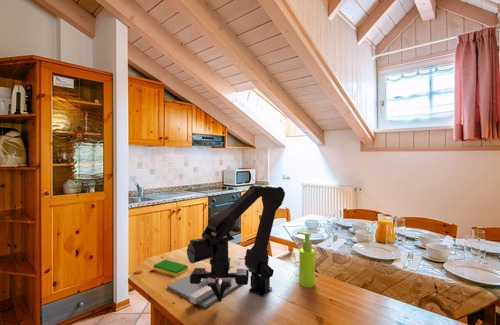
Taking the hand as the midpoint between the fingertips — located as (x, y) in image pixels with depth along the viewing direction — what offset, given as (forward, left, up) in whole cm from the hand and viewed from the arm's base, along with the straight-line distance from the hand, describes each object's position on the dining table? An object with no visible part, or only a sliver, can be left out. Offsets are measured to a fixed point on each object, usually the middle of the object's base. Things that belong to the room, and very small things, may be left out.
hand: (220, 301), depth 86 cm
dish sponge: (+36, -7, -3) cm, 37 cm away
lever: (+7, -4, -1) cm, 9 cm away
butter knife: (+20, -26, -3) cm, 33 cm away
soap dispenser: (-16, -32, -2) cm, 35 cm away
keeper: (+15, -12, -1) cm, 19 cm away
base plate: (+14, -7, -2) cm, 16 cm away
